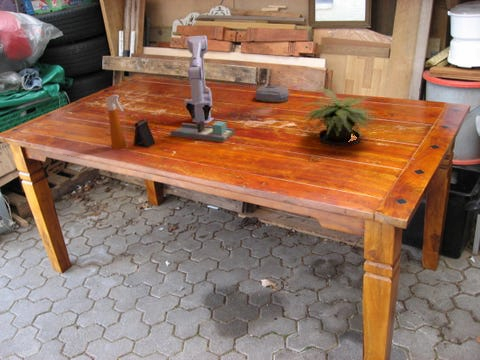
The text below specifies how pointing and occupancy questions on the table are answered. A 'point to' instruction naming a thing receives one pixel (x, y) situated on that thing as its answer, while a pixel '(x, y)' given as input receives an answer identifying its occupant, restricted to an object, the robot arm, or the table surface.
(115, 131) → the spray bottle
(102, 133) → the table surface
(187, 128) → the channel
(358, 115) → the fern plant
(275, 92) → the soft grey pack
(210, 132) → the sliding plate with handle
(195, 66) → the robot arm
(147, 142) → the phone stand
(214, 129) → the block
